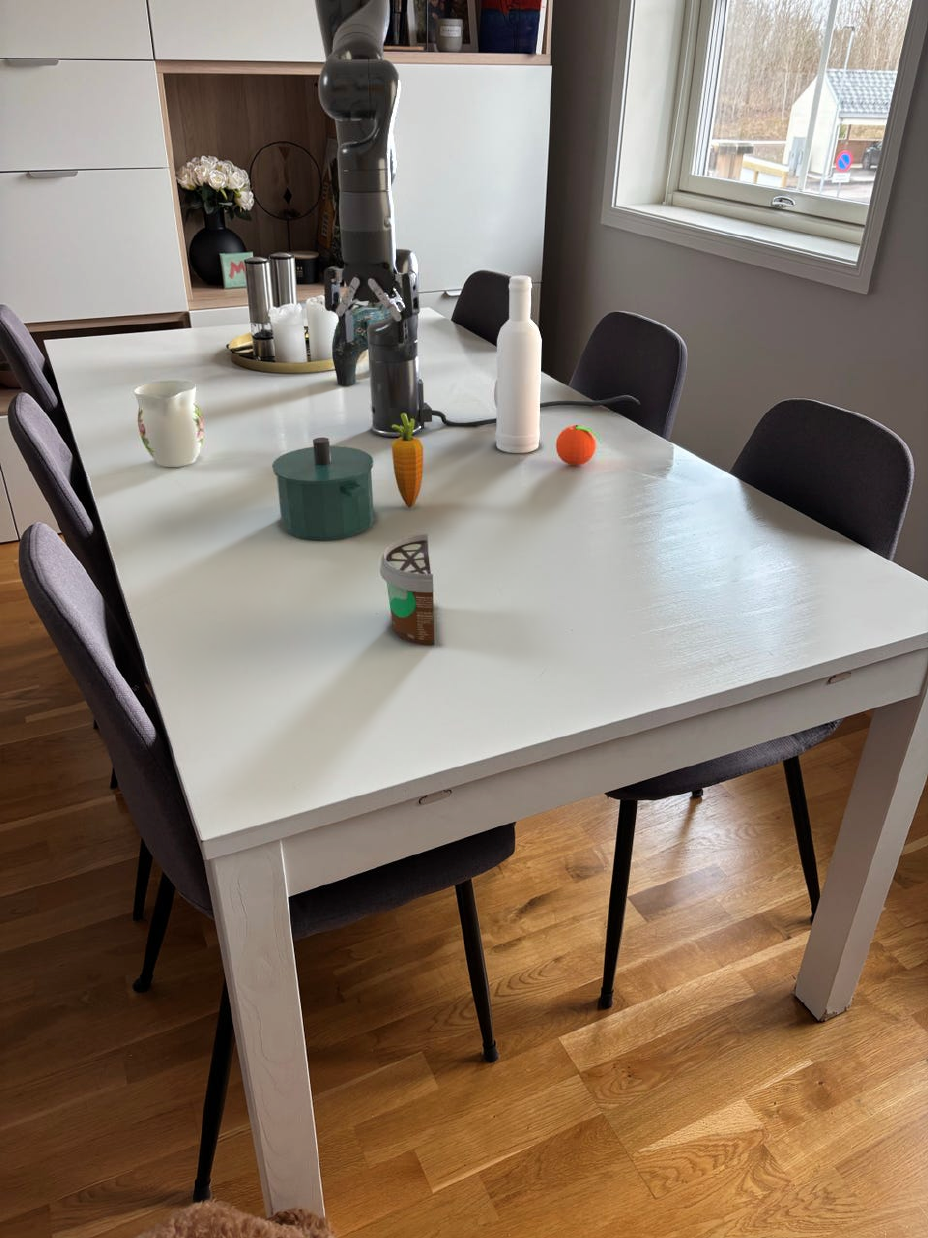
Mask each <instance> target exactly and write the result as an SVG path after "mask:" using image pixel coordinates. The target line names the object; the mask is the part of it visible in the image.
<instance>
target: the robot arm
mask: <svg viewBox="0 0 928 1238" xmlns="http://www.w3.org/2000/svg"><path fill="white" fill-rule="evenodd" d="M314 5H315V11H316V17H317V21H318V26H319V31H320V37H321V41H322V47H323V52H324V56H325V61H324V63H323V65H322V67H321V70H320V74H319V78H318V88H317V91H318V98H319V102H320V105H321V107H322V109H323V111H324V112H325V113H326V114H327V116H329V117H330V118H332V119H333V120H334V121H335V129H336V138H337V145H338V149H337V169H338V170H337V171H338V172H337V174H338V189H339V199H338V200H339V201H338V202H339V203H338V215H339V218H338V222H339V228H340V229H339V231H340V243H341V259H342V261H343V268H340V267H338V266H337V265H333V266H330V267H327V268H325V269H324V270H323V286H324V288H323V289H324V291H323V292H324V309H325V310H326V311H327V312H332V313H334V314H336V316H337V318H338V320H337V321H338V322H339V334H340V337H341V338H343V342H346V343H349V342H351V341H353V340H354V330H353V315H350V312H351V310H352V309H354V308H355V306H356V305H355V304H358V302H362V303H364V302H373V303H379V302H381V303H382V304H383V306H384V307H385V308H386V309H388V310H389V312H390V313H391V316H389V317H388V318H385V319H382V320H379V321H376V322H373V323H372V324H370V325H369V326H368V329H367V336H368V350H367V351H368V353H367V354H368V369H369V384H370V402H371V403H370V405H369V406H370V412H371V416H372V417H371V418H372V420H371V422H372V424H371V426H372V427H371V428H372V429H371V430H372V432H373V433H374V434H375V435H378V436H380V437H381V436H382V437H388V438H400V437H402V436H401V434H400V433H399V432H398V431H397V430H395V429H393V428H392V425H397V426H399V427H400V426H403V427H404V424H403V421H402V418H401V414H402V413H405V414H406V416H407V418H408V422H409V423H410V420H411V419H414V420H415V421H414V429H413V432H412V436H413V435H415V434H418V433H419V432H420V431H421V430H424V429H425V423H431V422H433V416H436V417H439V418H440V420H441V422H442V423H443V424H444V425H446V426H448V427H464V428H465V427H466V428H469V427H470V428H473V427H481V426H487V425H493V424H497V417H495V418H488V419H481V420H475V421H468V422H467V421H466V422H457V421H451V420H449V419H447V417H446V414H445V413H444V412H442V411H439V410H433V408H432V407H431V406H430V405H429V404H428V403H427V402H425V395H424V393H425V392H424V381H423V380H422V379H421V378H420V377H419V376H420V375H419V372H420V371H419V349H418V327H419V326H418V325H419V314H420V312H421V306H420V298H419V297H420V294H419V282H420V281H419V265H418V259H417V257H416V255H415V253H414V252H413V251H412V250H410V249H407V248H396V233H395V232H396V229H395V207H394V202H393V201H394V200H393V196H392V186H393V183H394V181H395V178H396V174H397V166H398V163H397V155H396V145H395V137H394V136H395V135H394V126H395V120H396V116H397V111H398V107H399V104H400V103H399V102H400V97H401V89H402V87H401V85H402V84H401V78H400V74H399V72H398V70H397V67H395V66H394V64H393V63H392V62H391V61H390V60H388V59H385V53H384V43H385V41H386V37H387V34H388V30H389V25H390V16H391V13H390V12H391V7H390V6H391V5H390V0H314ZM343 281H344V283H345V285H346V286H347V288H346V291H345V292H344V294H343V295H342V297H341V283H342V282H343ZM624 401H628V402H630V403H633V404H634V405H636V406H640V405H641V402H640V401H639V400H638V399H637V398H635V397H633V396H631V395H619V396H614V397H612V398H608V399H603V400H569V399H568V400H567V399H566V400H564V399H563V400H552V401H545V402H540V409H542V408H548V407H556V406H558V407H559V406H577V407H578V406H579V407H601V406H606V405H611V404H614V403H618V402H624ZM404 429H405V427H404Z"/></svg>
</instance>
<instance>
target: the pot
mask: <svg viewBox="0 0 928 1238" xmlns="http://www.w3.org/2000/svg"><path fill="white" fill-rule="evenodd" d="M275 477H276V485H277V494H278V502H279V503H278V505H279V512H280V513H279V514H280V520H281V524H282V529H283V530H284V532H285V533H287V534H289V535H291V536H293V537H295V538H298V539H303V540H308V541H309V540H310V541H334V540H335V541H336V540H341V539H342V540H343V539H347V538H350V537H353V536H356V535H358V534H361V533H363V532H366V530H368V529H369V528H370V527H371V526H372V524H373V523H374V518H375V511H374V493H373V477H372V469H371V470H370V471H369V472H368V473H366V474H365V475H363V476H361V477H358V478H355V479H352V480H349V481H345V482H340V483H333V484H321V485H309V484H298V483H293V482H289V481H285V480H283V479H281V478H279V477H277V476H276V475H275Z"/></svg>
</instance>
